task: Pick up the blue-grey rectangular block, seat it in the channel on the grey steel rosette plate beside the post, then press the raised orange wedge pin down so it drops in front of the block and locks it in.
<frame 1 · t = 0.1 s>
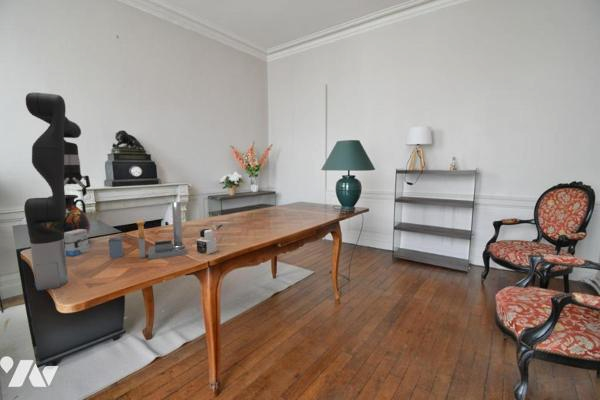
hand: (73, 196, 141), 29 cm above the table, tool pointing down, fingers open, 8 cm apart
blue-grey rectangular block: (116, 256, 138), on the table
ink box: (78, 253, 142), on the table
rosette stand: (161, 253, 142), on the table
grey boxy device: (207, 252, 145), on the table
amphora vase: (68, 245, 156), on the table
wedge pin: (141, 232, 137), point 12 cm above the table, slide at 0.0 cm
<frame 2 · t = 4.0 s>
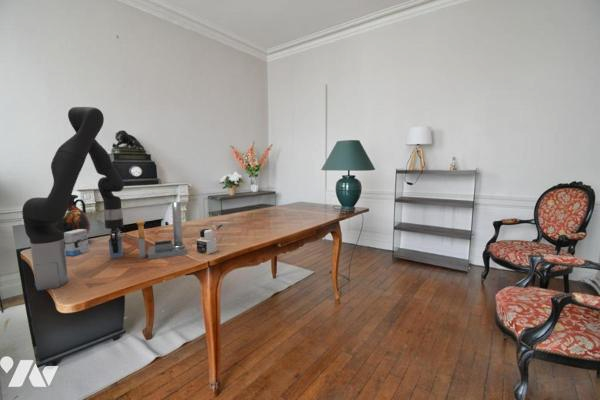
hand: (116, 251, 138), 2 cm above the table, tool pointing down, fingers closed on blue-grey rectangular block, 5 cm apart
blue-grey rectangular block: (116, 255, 138), on the table, touching gripper
everything else where it was.
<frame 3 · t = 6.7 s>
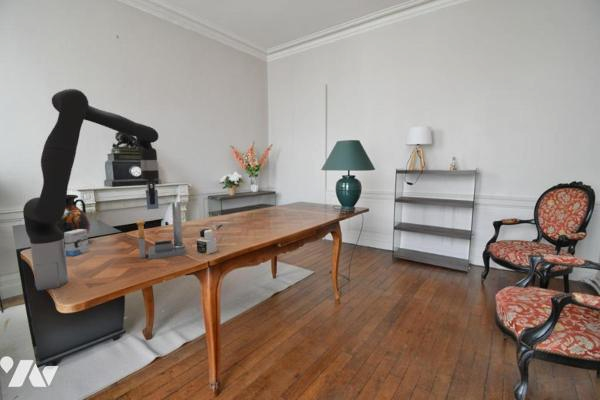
hand: (152, 203, 139), 26 cm above the table, tool pointing down, fingers closed on blue-grey rectangular block, 5 cm apart
blue-grey rectangular block: (152, 208, 139), point 24 cm above the table, touching gripper
everything else where it was.
when the fingers open (6 cm above the table, at t = 9.8 s): blue-grey rectangular block stays where it is, resting on rosette stand.
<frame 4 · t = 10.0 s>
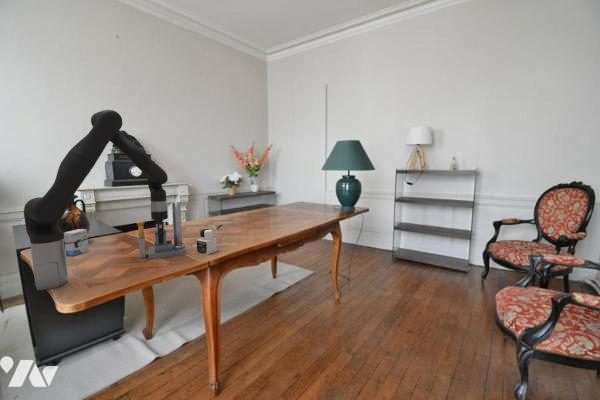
hand: (161, 241, 141), 6 cm above the table, tool pointing down, fingers open, 6 cm apart
blue-grey rectangular block: (161, 248, 142), point 2 cm above the table, touching rosette stand
everything else where it was.
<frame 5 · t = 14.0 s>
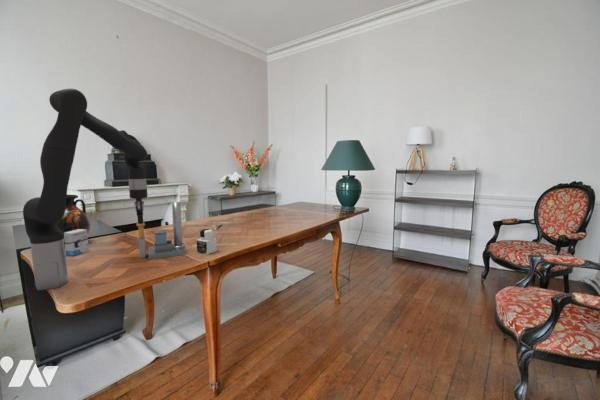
hand: (140, 223, 136), 17 cm above the table, tool pointing down, fingers closed
wedge pin: (141, 234, 137), point 11 cm above the table, slide at 1.0 cm, touching gripper
everything else where it was.
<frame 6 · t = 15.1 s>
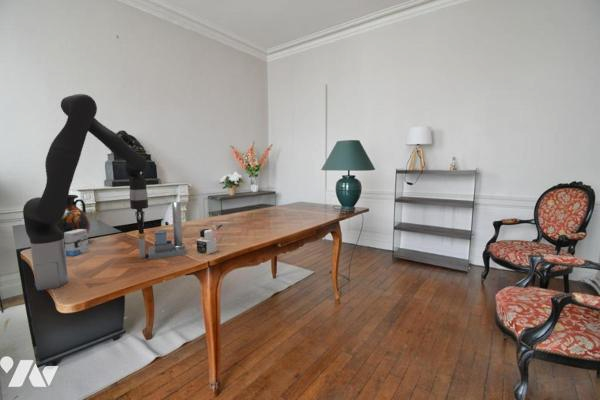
hand: (141, 233, 137), 12 cm above the table, tool pointing down, fingers closed
wedge pin: (142, 244, 137), point 6 cm above the table, slide at 6.1 cm, touching gripper
everything else where it was.
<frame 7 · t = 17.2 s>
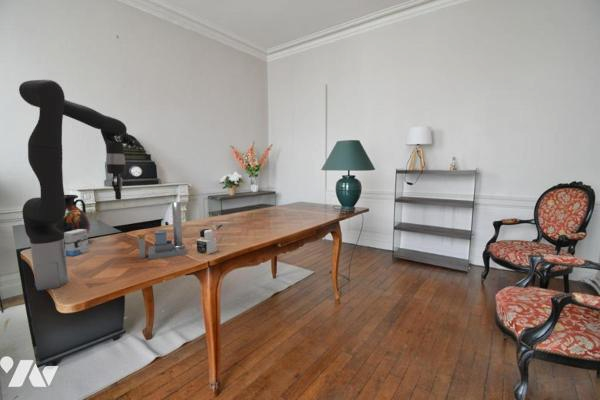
hand: (118, 199, 134), 29 cm above the table, tool pointing down, fingers closed
wedge pin: (142, 244, 137), point 6 cm above the table, slide at 6.1 cm
everything else where it was.
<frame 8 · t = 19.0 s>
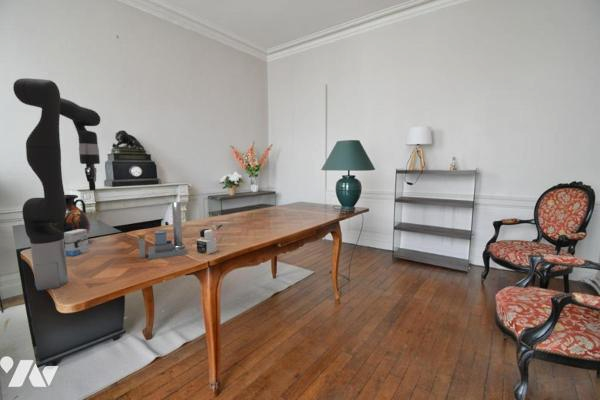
hand: (92, 190, 134), 33 cm above the table, tool pointing down, fingers closed
nothing on the table moved.
at the end: blue-grey rectangular block 0.1 cm off-centre on the rosette stand, point 2.5 cm above the rosette stand's base; blue-grey rectangular block tilted 0°; wedge pin slide at 6.1 cm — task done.
